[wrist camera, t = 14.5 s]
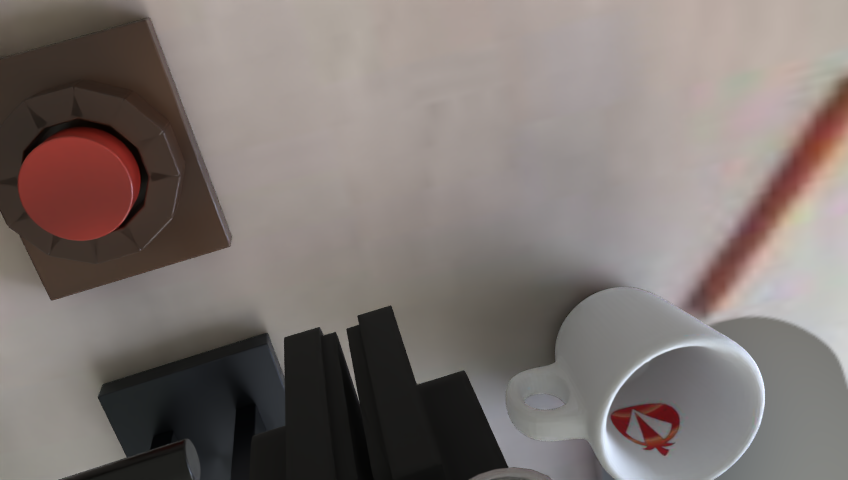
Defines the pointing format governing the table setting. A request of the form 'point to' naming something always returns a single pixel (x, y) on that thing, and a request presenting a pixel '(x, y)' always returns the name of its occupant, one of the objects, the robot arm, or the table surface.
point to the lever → (150, 465)
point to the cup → (644, 389)
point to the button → (79, 183)
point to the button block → (129, 122)
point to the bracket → (202, 405)
